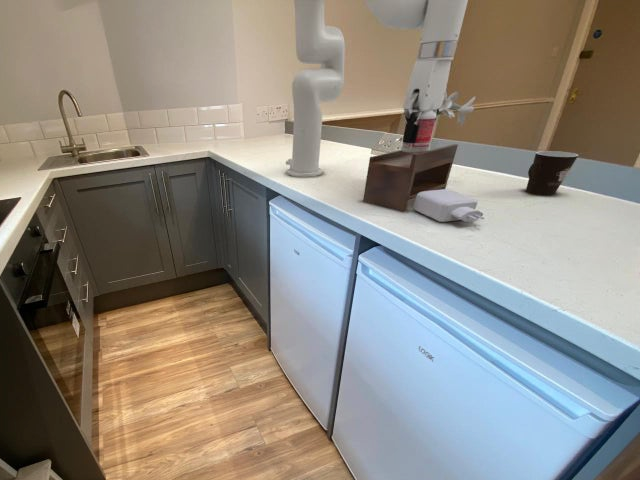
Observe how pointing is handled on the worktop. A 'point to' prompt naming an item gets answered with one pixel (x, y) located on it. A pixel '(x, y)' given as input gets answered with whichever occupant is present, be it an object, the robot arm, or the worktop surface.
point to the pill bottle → (422, 132)
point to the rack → (407, 175)
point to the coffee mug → (549, 171)
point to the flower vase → (448, 108)
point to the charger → (447, 206)
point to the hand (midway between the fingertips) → (416, 140)
